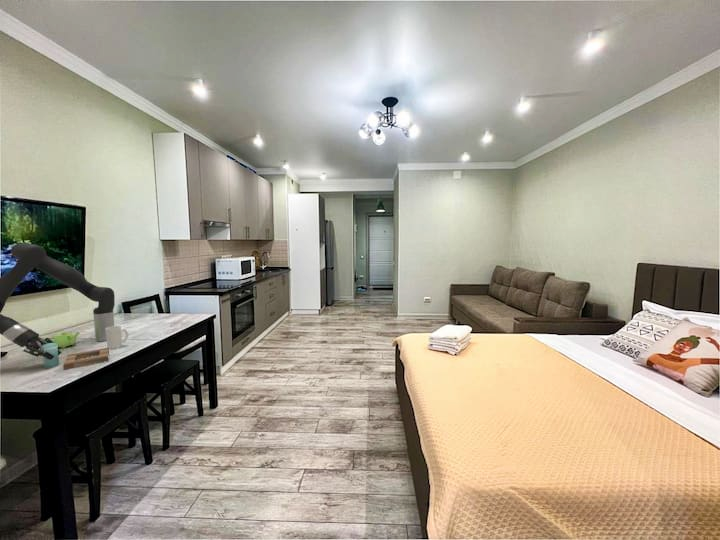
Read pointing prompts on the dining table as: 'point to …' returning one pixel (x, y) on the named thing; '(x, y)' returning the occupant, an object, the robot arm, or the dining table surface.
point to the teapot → (65, 339)
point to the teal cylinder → (53, 350)
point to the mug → (115, 336)
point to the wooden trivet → (73, 362)
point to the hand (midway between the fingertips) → (56, 356)
